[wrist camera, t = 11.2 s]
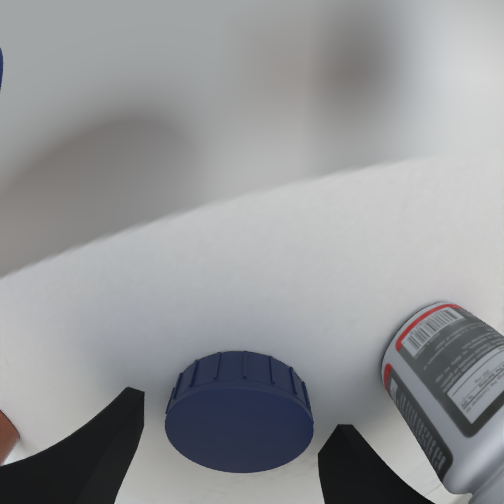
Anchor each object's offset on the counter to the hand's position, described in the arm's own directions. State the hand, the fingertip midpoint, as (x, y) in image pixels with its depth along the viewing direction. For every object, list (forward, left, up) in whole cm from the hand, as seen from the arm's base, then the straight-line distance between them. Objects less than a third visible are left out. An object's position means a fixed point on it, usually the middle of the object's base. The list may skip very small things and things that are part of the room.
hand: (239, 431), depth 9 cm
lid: (0, 0, 0) cm, 0 cm away
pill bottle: (+1, +8, -2) cm, 8 cm away
